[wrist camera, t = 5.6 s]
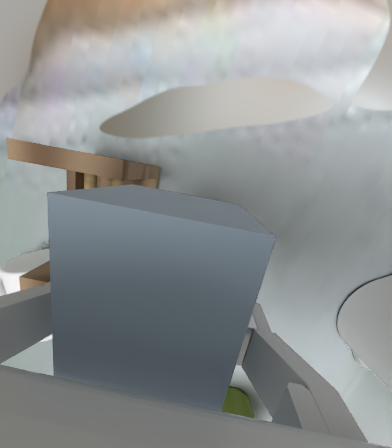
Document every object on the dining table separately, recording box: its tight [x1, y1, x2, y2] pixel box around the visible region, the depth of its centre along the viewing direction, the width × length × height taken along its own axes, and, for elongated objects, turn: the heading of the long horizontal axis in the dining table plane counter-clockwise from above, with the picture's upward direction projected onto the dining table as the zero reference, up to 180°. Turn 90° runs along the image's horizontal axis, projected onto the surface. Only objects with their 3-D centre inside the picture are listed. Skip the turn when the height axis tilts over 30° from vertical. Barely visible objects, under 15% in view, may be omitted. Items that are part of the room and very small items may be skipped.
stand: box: [6, 138, 160, 291], centre depth 21 cm, size 9×14×11 cm, turn 170°
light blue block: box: [47, 184, 276, 411], centre depth 8 cm, size 6×10×5 cm, turn 170°
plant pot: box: [221, 388, 255, 419], centre depth 29 cm, size 12×12×11 cm
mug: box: [0, 249, 52, 342], centre depth 26 cm, size 12×10×8 cm
